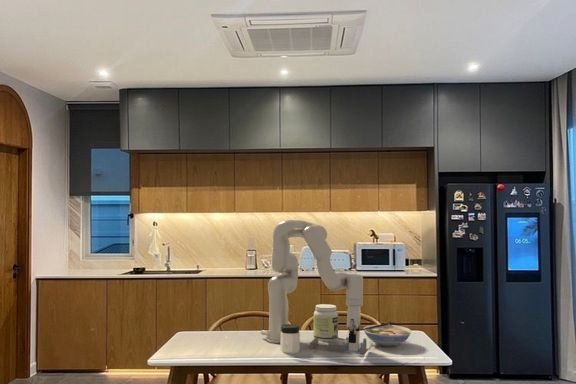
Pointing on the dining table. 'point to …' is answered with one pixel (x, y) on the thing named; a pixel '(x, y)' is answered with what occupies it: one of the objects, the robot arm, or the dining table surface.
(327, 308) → the supplement tub
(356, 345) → the plug
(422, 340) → the dining table surface
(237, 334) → the dining table surface
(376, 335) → the ramen bowl
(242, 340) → the dining table surface
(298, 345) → the jar
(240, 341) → the dining table surface
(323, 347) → the grey tiered shelf stand
